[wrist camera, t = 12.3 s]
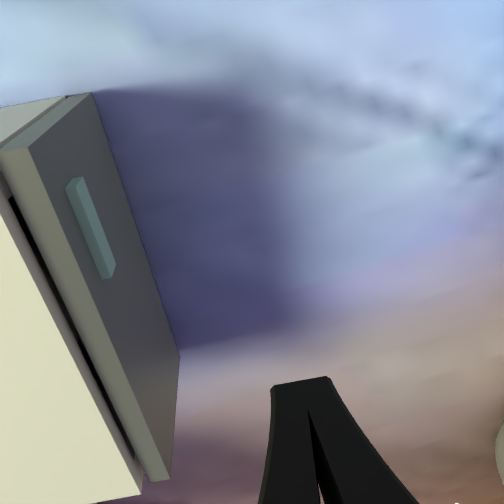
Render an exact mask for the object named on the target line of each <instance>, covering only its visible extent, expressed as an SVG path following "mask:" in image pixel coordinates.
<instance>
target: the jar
mask: <svg viewBox="0 0 504 504" xmlns="http://www.w3.org/2000/svg"><path fill="white" fill-rule="evenodd" d="M494 454H495V459H496V464H497V468H498V471H499V474H500V477H501V480H502V483H503V486H504V421H503V424H502V426H501V428H500V431H499V433H498V436H497V438H496V440H495V452H494ZM455 504H458V503H455Z"/></svg>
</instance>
